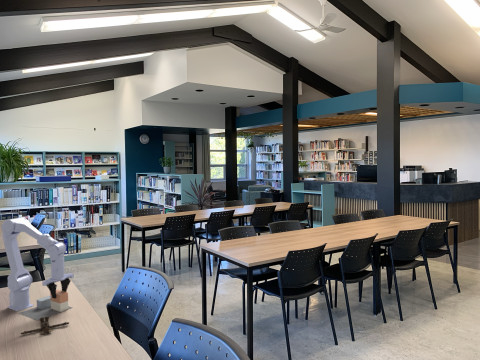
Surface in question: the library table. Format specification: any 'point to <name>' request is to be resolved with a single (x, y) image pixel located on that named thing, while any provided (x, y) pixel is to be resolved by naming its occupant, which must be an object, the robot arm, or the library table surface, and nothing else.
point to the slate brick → (44, 302)
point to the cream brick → (59, 306)
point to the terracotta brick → (60, 296)
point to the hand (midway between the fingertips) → (59, 296)
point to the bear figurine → (45, 326)
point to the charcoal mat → (40, 313)
